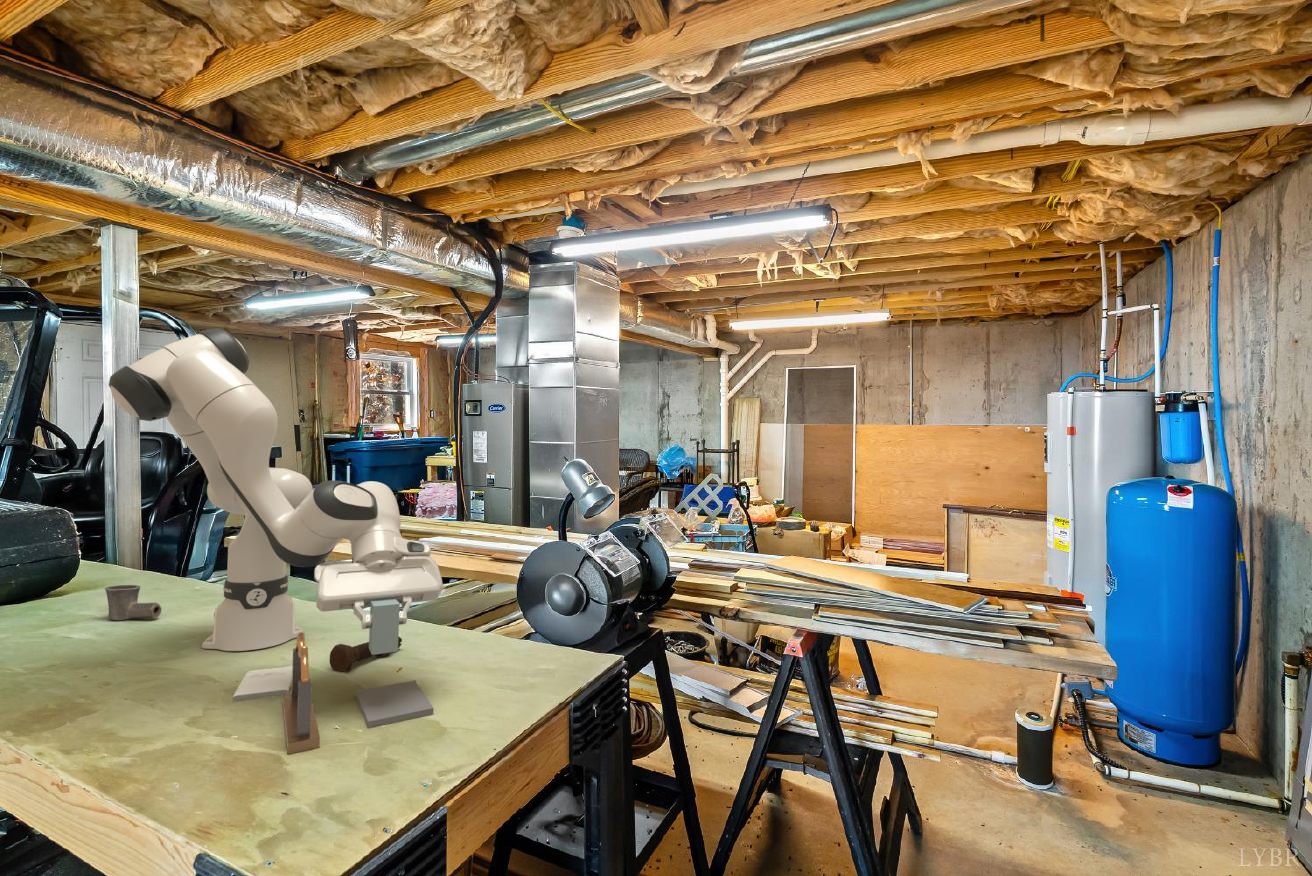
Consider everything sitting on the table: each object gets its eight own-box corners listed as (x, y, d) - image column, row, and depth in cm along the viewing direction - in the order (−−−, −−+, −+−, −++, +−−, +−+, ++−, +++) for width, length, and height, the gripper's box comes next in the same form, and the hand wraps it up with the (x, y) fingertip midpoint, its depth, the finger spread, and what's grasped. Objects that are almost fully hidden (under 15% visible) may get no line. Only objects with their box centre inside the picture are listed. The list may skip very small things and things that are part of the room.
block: (368, 647, 104) (370, 601, 104) (393, 644, 106) (395, 598, 106) (371, 654, 100) (373, 606, 100) (397, 651, 102) (399, 603, 102)
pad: (355, 696, 107) (355, 690, 107) (414, 685, 113) (415, 679, 113) (368, 727, 96) (368, 721, 96) (433, 713, 101) (433, 707, 101)
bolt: (399, 658, 132) (339, 679, 118) (384, 643, 134) (324, 663, 120) (410, 637, 131) (352, 656, 118) (396, 622, 133) (336, 639, 119)
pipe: (146, 623, 146) (148, 590, 146) (94, 622, 146) (96, 589, 146) (167, 616, 152) (168, 584, 152) (117, 615, 152) (118, 583, 152)
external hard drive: (232, 705, 104) (246, 678, 115) (287, 697, 108) (295, 673, 119) (232, 695, 104) (246, 670, 115) (287, 688, 108) (296, 664, 119)
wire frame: (282, 703, 104) (285, 624, 104) (309, 698, 106) (311, 621, 106) (287, 754, 87) (291, 660, 87) (319, 747, 89) (322, 655, 90)
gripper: (315, 551, 104) (316, 622, 95) (438, 544, 115) (449, 607, 106) (312, 572, 107) (313, 643, 99) (432, 563, 118) (442, 626, 110)
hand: (384, 624), depth 103 cm, fingers closed on block, 4 cm apart
